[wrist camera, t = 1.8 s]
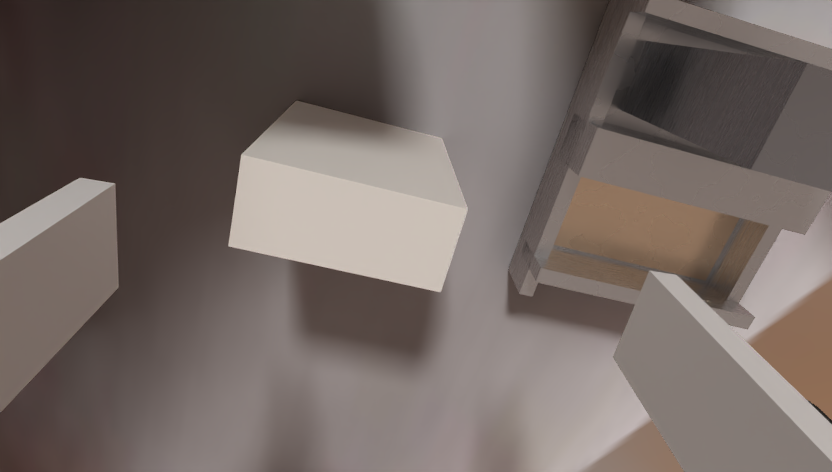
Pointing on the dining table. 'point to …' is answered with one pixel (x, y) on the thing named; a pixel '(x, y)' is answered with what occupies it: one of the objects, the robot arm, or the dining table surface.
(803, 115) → the frame
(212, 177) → the dining table surface
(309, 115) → the panel
